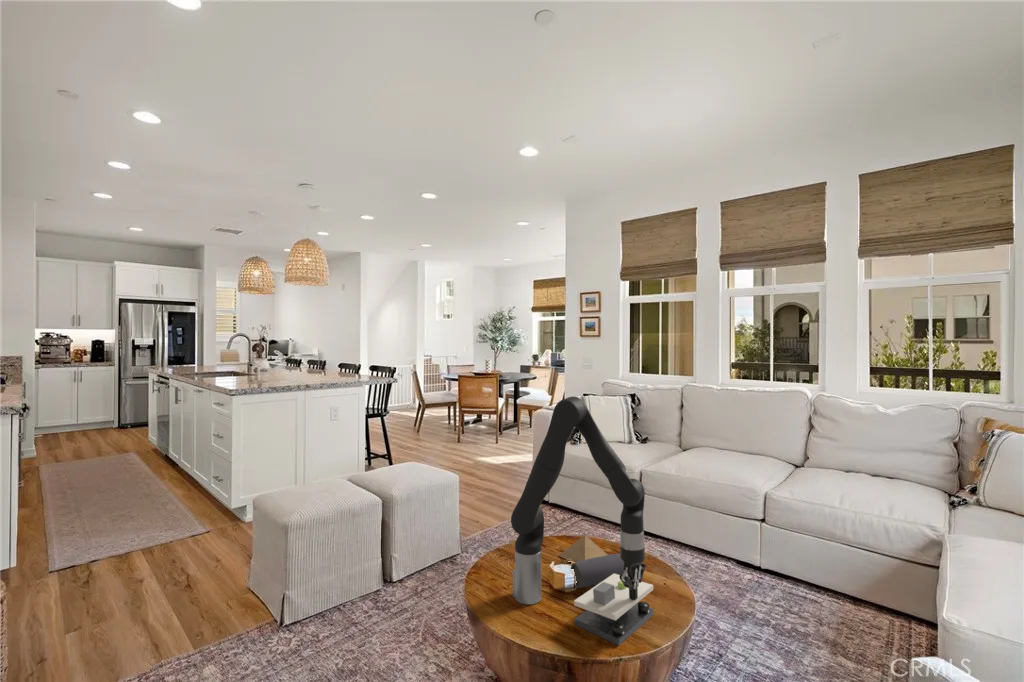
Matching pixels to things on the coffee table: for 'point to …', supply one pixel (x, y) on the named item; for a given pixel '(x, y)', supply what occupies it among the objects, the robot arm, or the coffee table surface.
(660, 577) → the coffee table surface
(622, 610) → the plate
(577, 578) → the bluetooth speaker
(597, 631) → the tribrach base
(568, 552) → the model pyramid
